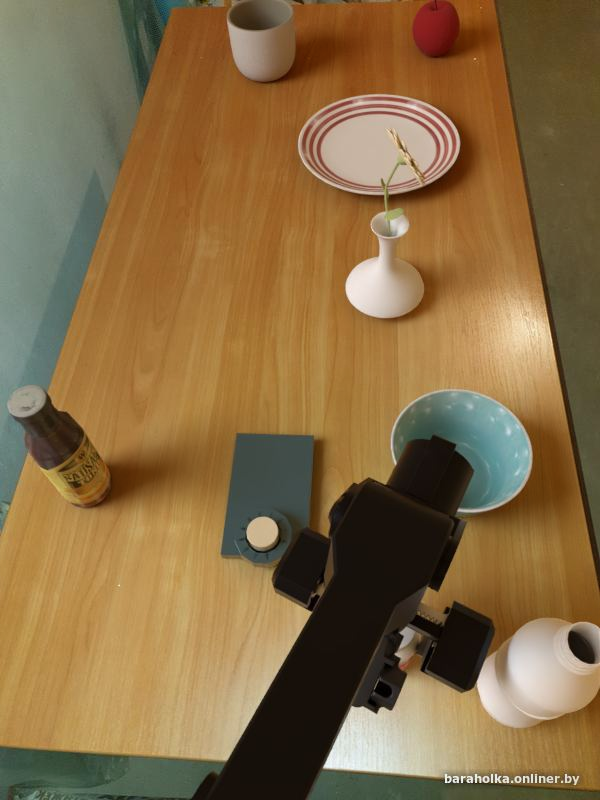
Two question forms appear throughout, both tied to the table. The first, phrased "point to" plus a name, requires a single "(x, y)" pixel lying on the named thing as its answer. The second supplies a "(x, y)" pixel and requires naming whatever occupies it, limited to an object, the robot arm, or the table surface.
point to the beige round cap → (263, 533)
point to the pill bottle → (408, 646)
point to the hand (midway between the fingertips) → (375, 626)
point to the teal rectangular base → (268, 492)
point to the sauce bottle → (60, 447)
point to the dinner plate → (377, 143)
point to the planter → (262, 38)
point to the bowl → (472, 443)
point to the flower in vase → (388, 258)
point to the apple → (436, 27)
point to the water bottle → (541, 672)
